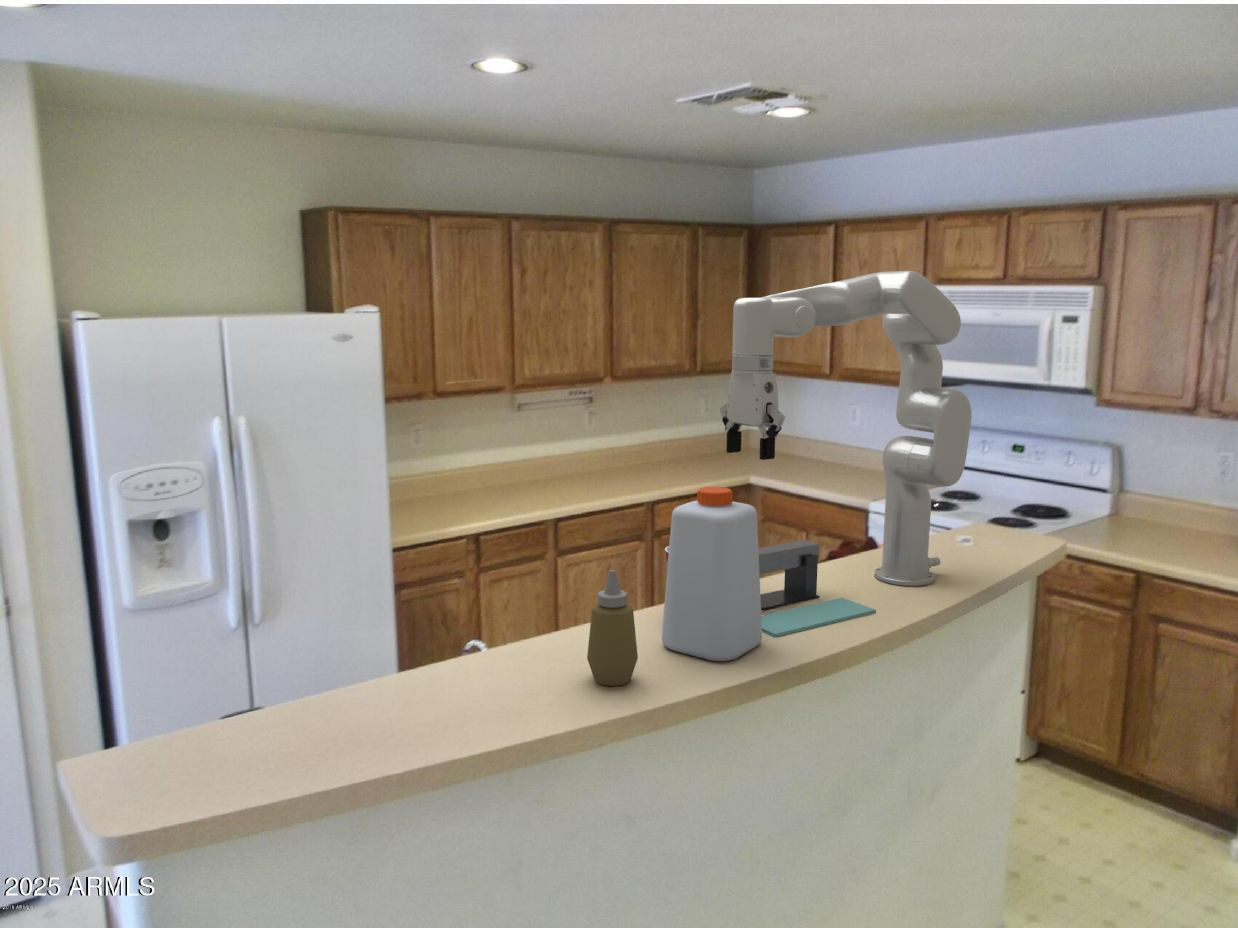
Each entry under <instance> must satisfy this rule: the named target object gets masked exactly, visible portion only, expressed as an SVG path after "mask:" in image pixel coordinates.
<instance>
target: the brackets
mask: <svg viewBox="0 0 1238 928" xmlns="http://www.w3.org/2000/svg"><path fill="white" fill-rule="evenodd" d="M818 564H819V563H818V556H817V555H811V556H806V557H804V566H800V567H795V568H790V569H784V582H783V583H784V585H783V587H784V588H783V589H781V590H776V591H771V592H767V593H766V592H765V593H762V594H761V593H760V599H761V612H762V611H767V610H772V609H777V608H781V607H785V606H789V605H794V604H799V603H804V602H807V601H809V602H810V601H812V600H817V599H818V600H819V599H820V595H818V594H817V593H818V591H817V589H818V587H817V586H818Z"/></svg>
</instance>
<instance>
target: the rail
mask: <svg viewBox="0 0 1238 928" xmlns="http://www.w3.org/2000/svg"><path fill="white" fill-rule="evenodd" d="M758 552H759V575H763V574H769V573H773V572H778V571H785V569H790V568H795V567H800V566H804V557H806V556H811V555H817V556H818V563H817V564H819V563H820V543H817V542H814V541H811V540H808V539H803V540H797V541H792V542H786V543H779V544H774V545H769V546H763V547H758Z"/></svg>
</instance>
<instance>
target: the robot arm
mask: <svg viewBox="0 0 1238 928" xmlns="http://www.w3.org/2000/svg"><path fill="white" fill-rule="evenodd" d="M732 310H733V316H732V356H731V357H732V358H731V360H732V361H731V372H730V378H729V384H728V392H727V402H726V403H725V404H724V405H722V406H721V407H720V408H719V411H720V414H721V418H722V419H721V420H722V423H723V425H724V432H726V450H725V451H726V453H728V454H730V453H731V454H732V453H740V452H741V451H742V431H741V430H740V429H741V427H742V426H748V427H753V428H758V430H759V432H760V434H761V437H760V438H759V460H762V461H765V460H766V461H767V460H774V459H775V456H776V455H775V454H776V439H777V438H778V437H779V433H780V432H781V430H782V426H783V424H784V421H785V415H784V414H783V412H781V411H780V410H779V393H778V392H779V391H778V382H777V377H776V373H775V372H773V370H774V369H773V368H774V363H775V362H774V338H775V337H776V338H777V337H779V338H799V337H802V336H805V335H807V334H808V333H809V332H810V331H811V330H812V329H813V327H834V326H843V325H847V324H852V323H855V322H858V321H861V320H864V319H865V320H866V319H870V318H873V317H877V316H882V320H881V321H882V322H881V323H882V324H881V325H882V329H883V331H884V334H885V336H886V337H887V338H888V339H889V341H891V343H892V344H893V346H894V347H895V348H896V351H897V353H898V355H899V359H900V376H899V377H900V378H899V386H898V392H897V393H898V394H897V401H896V412H895V413H896V420H897V422H898V424H899V425H900V426H901V427H903V428H904V429H908V430H913V431H917V432H923V433H924V432H925V433H930V434H931V433H933V439H932V438H928V437H921V436H913V435H901V436H900V435H899V436H897V437H894V438H892V439H891V440H889V441H888V443H887V444H886V446H885V448H884V450H883V451H882V452H883V454H882V465H883V466H882V467H883V472H884V480H885V503H884V519H883V520H884V523H883V525H884V526H883V544H882V560H881V561H882V563H881V564H882V565H881V566H879V567H877V568H876V569H875V570H874V577H875V579H878V580H879V581H881V582H883V583H887V584H891V585H897V586H905V587H907V586H908V587H920V586H926V585H931V584H933V582H935V575H934V573H933V572H931V571H930V569H931V568H932V567H937V566H940V564H941V558H940V557H938V556H935V557H929V546H930V531H931V529H930V528H931V527H930V526H931V512H932V498H931V494H930V491H929V487H928V486H927V485H931V486H936V487H942V488H947V487H951V486H954V485H955V484H956V483H958V482H959V481H960V479H961V478H962V476H963V473H964V469H965V465H966V462H967V461H966V460H967V453H968V449H969V439H970V435H971V434H970V433H971V425H972V414H973V413H972V407H971V402H970V400H969V398H968V397H967V396H966V394H965V393H964V392H962V391H960V390H957V389H954V388H944V387H942V386H943V385H942V382H943V370H944V369H943V368H944V364H943V362H944V361H943V358H942V355H941V352H940V350H939V348H938V347H937V346H939V345H940V346H942V345H946V344H949V343H951V342H953V341H954V340H955V339H956V338H957V337H958V335H959V333H960V330H961V325H962V320H961V315H960V312H959V310H958V309H957V307H956V306H955V304H954V303H953V302H952V301H951V300H950V299H949V298H948V297H947V296H946V295H945V294H944V293H943V292H942V291H941V289H939V288H938V287H937V286H936V285H935V284H934V283H932V282H931V280H929V279H928V278H927V277H926V276H924V275H923V274H921V273H919V272H917V271H914V270H900V271H899V270H895V271H893V270H892V271H880V272H879V271H878V272H874V273H873V272H872V273H869V274H863V275H860V276H856V277H852V278H848V279H847V278H846V279H842V280H838V281H834V282H833V281H832V282H828V283H823V284H818V285H814V286H809V287H804V288H800V289H794V290H793V289H792V290H788V291H784V292H778V293H774V294H770V295H766V296H762V297H742V298H741V297H740V298H737V300H735V301H734V303H733V309H732Z"/></svg>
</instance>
